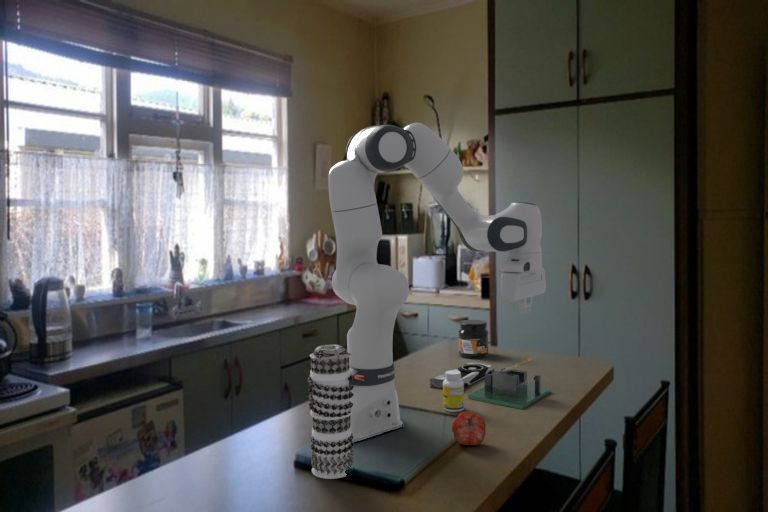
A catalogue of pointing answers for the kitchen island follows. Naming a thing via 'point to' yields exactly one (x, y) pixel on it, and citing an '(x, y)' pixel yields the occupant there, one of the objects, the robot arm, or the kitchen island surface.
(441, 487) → the kitchen island surface
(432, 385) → the graphics card
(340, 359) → the decorative candle
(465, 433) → the pomegranate
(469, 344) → the supplement container
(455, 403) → the supplement bottle
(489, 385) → the circuit board
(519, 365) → the white strip
